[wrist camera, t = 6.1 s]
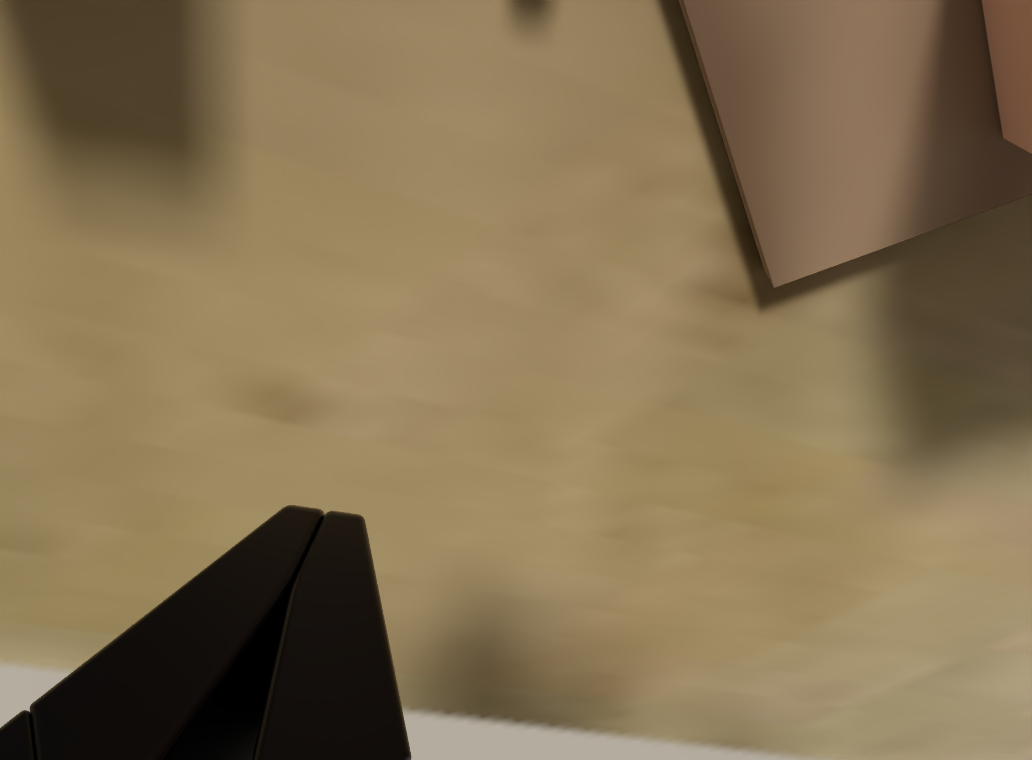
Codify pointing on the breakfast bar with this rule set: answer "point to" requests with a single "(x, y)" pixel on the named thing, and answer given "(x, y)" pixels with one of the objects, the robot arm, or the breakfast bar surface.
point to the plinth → (854, 121)
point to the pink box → (1012, 65)
